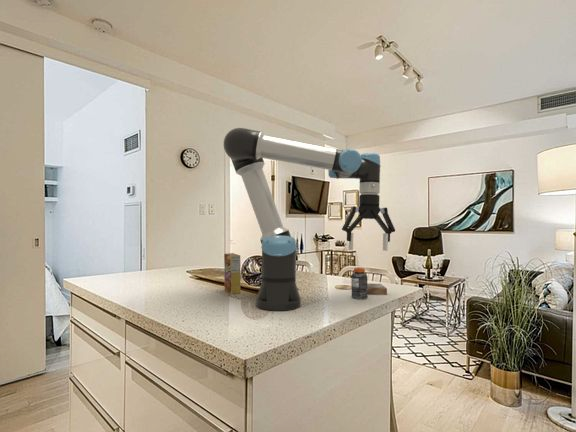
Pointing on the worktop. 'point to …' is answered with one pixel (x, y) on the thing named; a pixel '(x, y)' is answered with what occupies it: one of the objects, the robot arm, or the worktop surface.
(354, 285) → the pill bottle
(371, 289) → the walnut stand
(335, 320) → the worktop surface
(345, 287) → the cork coaster
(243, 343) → the worktop surface
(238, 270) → the candy box
